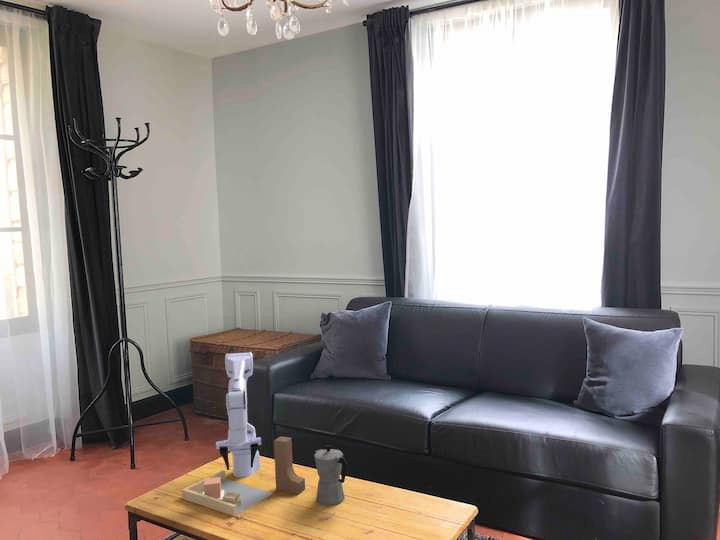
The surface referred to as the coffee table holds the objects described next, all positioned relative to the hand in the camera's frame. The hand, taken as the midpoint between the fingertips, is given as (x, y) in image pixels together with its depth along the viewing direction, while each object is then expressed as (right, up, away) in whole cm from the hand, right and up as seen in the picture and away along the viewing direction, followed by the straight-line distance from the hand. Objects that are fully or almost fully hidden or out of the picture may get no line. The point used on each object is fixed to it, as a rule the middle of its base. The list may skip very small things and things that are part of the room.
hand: (240, 467), depth 196 cm
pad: (-9, -9, 0) cm, 13 cm away
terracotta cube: (-9, -9, 0) cm, 13 cm away
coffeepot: (+31, -9, -4) cm, 32 cm away
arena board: (-4, -10, 0) cm, 11 cm away
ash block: (-1, -10, -8) cm, 13 cm away
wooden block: (+16, -9, +3) cm, 19 cm away
